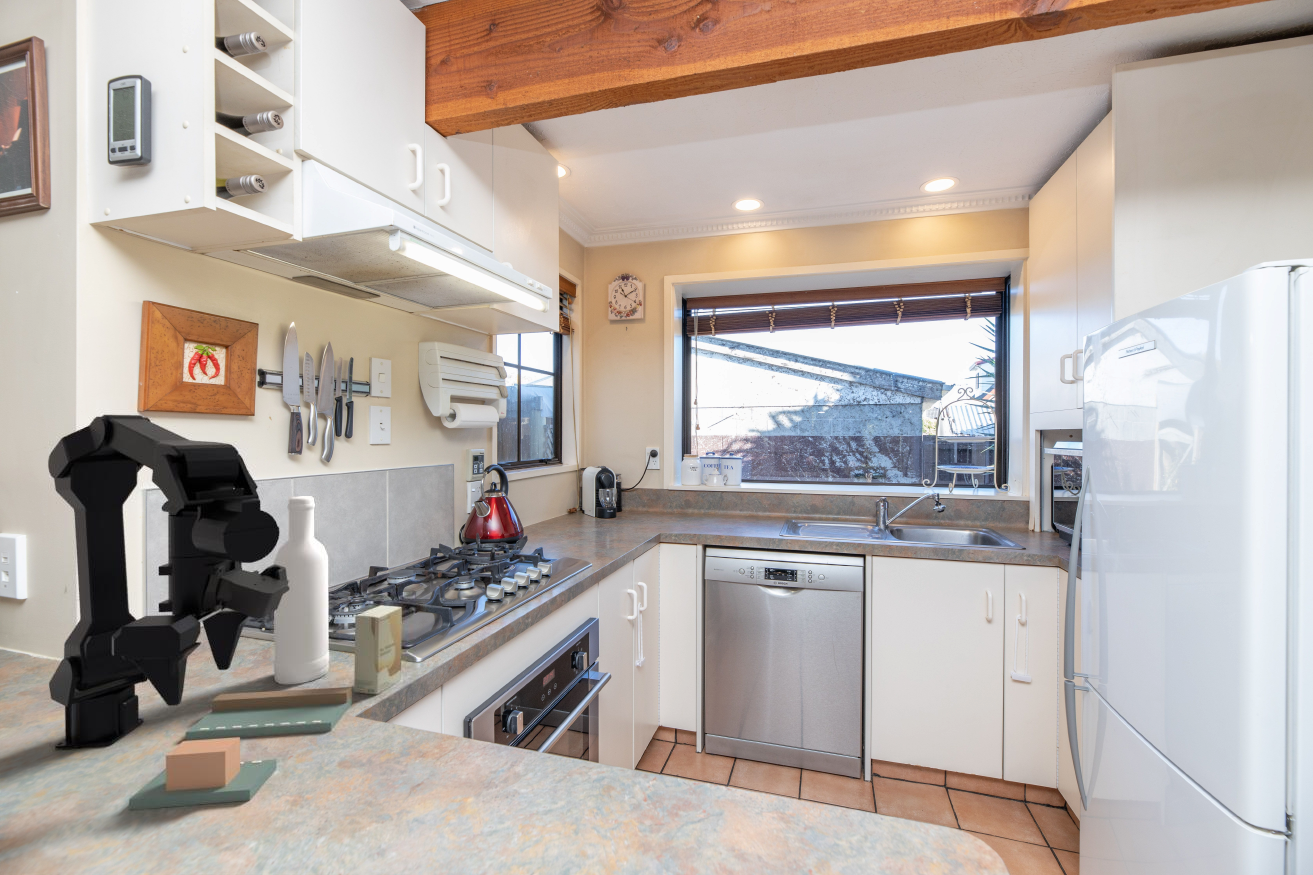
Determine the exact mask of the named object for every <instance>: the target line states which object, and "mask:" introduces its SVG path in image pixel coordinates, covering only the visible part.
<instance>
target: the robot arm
mask: <svg viewBox="0 0 1313 875" xmlns="http://www.w3.org/2000/svg"><path fill="white" fill-rule="evenodd" d="M47 463H48V464H47V467H48V472H49V474H50V476H51V478H53V481H54V488H55V491H56V493H57V494H58V495H59V496H60V497H61V498H62V499H63V500H64V501H65V502H66V503H67V504H68V505H69V506H70V507H71V508H72V509H73V512H74V530H75V545H76V546H75V547H76V561H77V563H76V566H77V580H78V584H77V585H78V598H79V599H78V600H79V614H80V615H79V616H80V618H79V621H78V622H77V624H76V625H75V627H74V628H73V630H72V631H71V633H70V634H69V635H68V637H67V639H66V640H65V642H64V645H63V646H64V647H63V658H62V659H61V660H60V662H59V664H58V666H57V667H56V670H55V672H54V673H53V675H52V676H51V679H50V681H49V682H48V687H49V688H48V689H49V693H50V699H51V701H54V702H56V703H59V704H60V705H63V706H64V728H65V729H64V732H65V733H64V734H65V737H64V738H63V739H62V740H60V741H59V742H57V743H56V744H55V745H54V750H62V749H63V750H65V749H78V748H80V749H81V748H93V747H94V748H95V747H108V746H110V745H111V746H112V745H113V744H115V743H116V742H118V741H119V740H120V739H121V738H123V737H124V736H126V735H127V734H129V733H130V732H131V731H133V730H135V729H136V728H137V727H139V726H140V725H142V724H143V723H144V722H145V721H144V718H142V717H140V716H139V715H140V714H139V712H140V711H139V708H140V707H139V695H138V694H136V685H137V684H140V683H146V682H148V681H149V683H151V685H152V686H153V688H154V689H155V691H156V692H157V693H158V694H159V696H160V697H161V699H162V700H163V701H164V703H165V704H166V705H167V706H168V707H172V706H173V707H174V706H179V705H180V704H181V703H182V699H183V693H184V688H185V687H184V686H185V678H186V671H187V664H188V662H187V661H188V657H189V656H190V655H191V654H192V653H193V652H194V651H195V650H197V649H198V648H199V647H200V646H201V644H202V642H199V641H198V639H199V637H200V634H201V628H202V627H201V622H202V626H203V629H204V631H205V634H206V638H207V641H208V644H209V648H210V650H211V655H212V657H213V660H214V662H215V665H216V667H217V669H218V671H226V670H229V669H230V668H231V664H232V661H233V658H234V656H235V653H236V649H237V647H238V643H239V641H240V640H239V639H240V637H241V634H242V631H243V629H244V628H245V627H244V626H245V624H246V622H247V621H248V620H249V619H250V618H251V619H262V618H265V617H267V615H269V614H270V613H271V612H273V611H274V610H276V609H277V608H278V606H279V603H280V601H281V598H282V596H283V594H284V593H286V592H288V591H289V586H288V582H289V580H287V574H286V568H285V567H282V566H279V565H276V564H274V563H273V564H271V565H270V566H268V567H266V568H265V569H264V570H263V571H262V572H260V571H259V570H256V569H255V570H253V571H249V570H245V569H243V566H242V565H243V564H252V563H256V562H258V561H261V560H263V559H264V558H266V557H268V556H269V555H270V554H271V552H273V551H274V549H275V548H276V546H277V544H278V541H279V538H280V526H278V524H277V520H276V519H275V518H274V516H272V514H270V513H268V512H267V511H265V510H262V509H261V500H260V496H259V494H258V491H257V489H258V485H257V483H256V482H255V480H254V479H253V477H252V475H251V474H250V471H249V470H248V468H247V466H246V463H245V461H244V458H243V457H242V456H241V454H240V453H239V451H238V449H237V448H236V447H235V445H232V444H231V443H226V442H225V443H224V442H218V441H206V440H205V441H203V440H192V439H188V438H186V437H184V436H182V435H180V434H177V433H175V432H173V431H171V430H169V429H167V428H164V427H162V426H160V425H158V424H156V423H154V422H151V420H150V418H149V417H147V416H145V417H143V416H142V415H141V414H139V415H138V414H103V415H102V416H96V417H94V418H93V419H92V421H91V423H89V424H88V425H87V426H85V427H83V428H81V429H78V430H77V431H76V430H75V431H74V432H72V433H69V434H66V435H65V436H63V437H61V438H60V439H59V441H58V442H57V443H56V445H55V446H54V448H52V451H51V452H50V454H49V456H48V460H47ZM143 467H147V468H148V469H150V470H152V473H151V474H152V475H151V482H153V484H154V485H155V486H156V487H158V488H159V490H160V491H161V492H162V494H163V495H164V497H165V499H167V500H166V501H165V502H164V503H163V505H162V506H161V510H162V512H164V513H167V514H168V517H167V518H168V519H167V520H168V522H167V527H168V528H167V530H168V532H167V538H168V539H167V540H168V541H167V543H168V544H167V545H168V546H167V548H168V552H167V553H168V554H167V556H168V557H167V558H168V560H167V561H168V562H167V563H165V564H161V565H160V566H158V577H159V576H160V577H161V576H167V579H168V580H167V583H168V587H167V588H168V591H167V592H168V593H167V594H168V595H167V596H168V599H165V600H164V601H161V602H158V613H171V614H170V615H168V614H165V615H144V616H143V617H141V618H137V619H136V617H134V615H132V613H130V605H129V592H128V591H129V589H128V587H129V586H128V573H127V572H128V571H127V556H126V543H125V542H126V539H125V524H124V523H125V521H124V504H125V503H126V501H127V500H128V498H129V497H130V496H131V494H132V493H133V491H135V488H136V487H137V486H138V472H140V471H141V469H142V468H143ZM259 572H260V573H259ZM197 641H198V642H197Z"/></svg>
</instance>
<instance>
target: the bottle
mask: <svg viewBox="0 0 1313 875" xmlns="http://www.w3.org/2000/svg"><path fill="white" fill-rule="evenodd" d="M315 508H316V504H315V498H314V497H313V496H310V495H306V496H302V495H301V496H300V495H299V496H292V497H289V498H288V503H287V510H288V540H287V541H285V543H284V544H283V545H282V546H280V547H279V548H278V550H277V552H276V555H275V558H274V561H273V565H274V564H276V565H279V566H282V567H285V568H286V574H287V580H289V582H288V586H289V591H288V592H286V593H284V594H283V596H282V598H281V601H280V603H279V606H278V608H277V609H276V610H273V611H274V612H273V614H274V615H273V616H274V617H273V619H274V620H273V628H274V630H273V632H274V633H273V634H274V635H273V637H274V640H273V641H274V644H273V645H274V646H273V648H274V650H273V651H274V655H273V656H274V657H273V658H274V660H273V672H274V681H275V682H276V683H277V684H280V685H286V686H287V685H288V686H289V685H299V684H304V683H309V682H312V681H315V680H318V679H320V678H322V677H323V676H325V675H327V673H328V671H329V666H330V665H329V663H330V651H329V556H328V552H327V551H326V548H325V546H324V544H322V543H321V542H320V541H318V540H317V539H316V538H315Z"/></svg>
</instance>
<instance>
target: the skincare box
mask: <svg viewBox="0 0 1313 875" xmlns="http://www.w3.org/2000/svg"><path fill="white" fill-rule="evenodd" d="M402 609H403V607H401V606H391V605H381V604H380V605H378V606H376V607H374V608H371V609H368V610H366V611H364V612H361V613H360V614H356V615H355V619H354V621H355V622H354V624H355V625H354V678H353V679H354V682H353V686H354V690H353V692H354V693H359V694H366V695H368V694H369V695H379V694H381V693H382V692H384V691H385V690H387V689H389V688H390V687H392V686H393V685H395V684H396V683H398V682H400V681H401V680H402V637H403V636H402V635H403V634H402V630H403V629H402V625H403V624H402V622H403V618H402V616H403V614H402V613H403V612H402V611H403V610H402Z"/></svg>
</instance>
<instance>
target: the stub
mask: <svg viewBox="0 0 1313 875" xmlns="http://www.w3.org/2000/svg"><path fill="white" fill-rule="evenodd" d="M276 770H277V759H263V760H260V759H259V760H250V761H248V760H247V761H241V737H233V738H218V739H204V740H189V741H186V740H183V741H181V742H180V743H179V744H178V745H177V746H176V747H175V748H173V749H172V750H170V752H168V753H167V754H166V755H165V768H164V769H163V770H162V771H160V772H159V773H158V774H157V775H156V776H155V777H154V778H152V779H151V780H150V781H149V782H148V783H146V784H145V785H144V786H143V787H142V788H141V789H140V790H138V791H137V792H135V793H134V795H132V796H131V797H130V798H129V800H128V807H129V808H128V811H136V810H137V811H138V810H147V809H158V808H169V807H170V808H173V807H181V806H182V807H183V806H184V807H185V806H196V805H206V804H207V805H208V804H220V803H232V802H246V801H251V800H252V798H253V797H254V796H255V795H256V794H257V792H258V791H260V789H261V788H262V787H263V785H264V784H265V783H266V782H267V781H268V779H269V778H271V776H272V775H273V774H274V772H276Z"/></svg>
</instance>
